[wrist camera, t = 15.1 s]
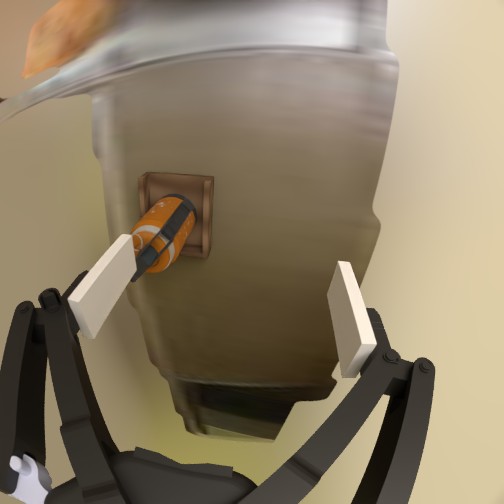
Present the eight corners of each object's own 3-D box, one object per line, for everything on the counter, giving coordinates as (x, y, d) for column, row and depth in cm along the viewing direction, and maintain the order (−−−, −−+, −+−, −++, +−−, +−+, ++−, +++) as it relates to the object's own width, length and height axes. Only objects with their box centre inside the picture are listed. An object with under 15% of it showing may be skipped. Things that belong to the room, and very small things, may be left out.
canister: (148, 211, 55) (101, 265, 38) (181, 176, 51) (136, 221, 34) (178, 240, 58) (143, 302, 41) (214, 208, 54) (186, 266, 37)
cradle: (146, 172, 52) (138, 178, 48) (214, 176, 52) (209, 182, 48) (150, 240, 60) (144, 250, 57) (211, 248, 60) (207, 258, 57)
